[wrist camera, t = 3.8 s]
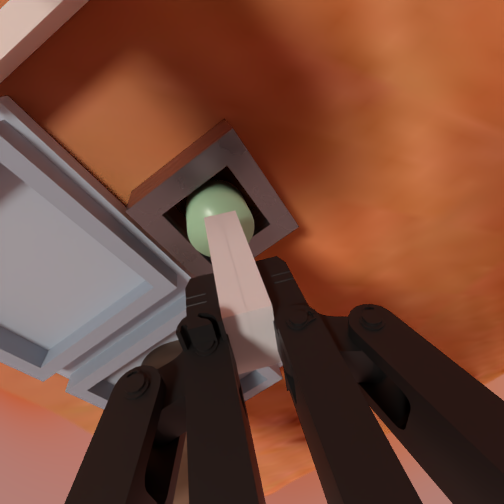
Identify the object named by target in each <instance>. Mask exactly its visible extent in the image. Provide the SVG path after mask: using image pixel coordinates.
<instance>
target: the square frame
mask: <svg viewBox="0 0 504 504" xmlns="http://www.w3.org/2000/svg"><path fill="white" fill-rule="evenodd" d="M88 1H89V0H9V1H8V2H7V3H6V4H5V5H4V6H3V7H2V8H1V9H0V83H1V82H2V81H3V80H4V79H5V78H6V77H8V76H9V75H10V74H11V73H12V72H13V71H14V70H15V69H16V68H17V67H18V66H19V65H20V64H21V63H23V62H24V61H25V60H26V59H27V58H28V57H29V56H30V55H31V54H32V53H33V52H34V51H35V50H36V49H38V48H39V47H40V46H41V45H42V44H43V43H44V42H45V41H46V40H47V39H48V38H49V37H50V36H51V35H53V34H54V33H55V32H56V31H57V30H58V29H59V28H60V27H61V26H62V25H63V24H64V23H65V22H67V21H68V20H69V19H70V18H71V17H72V16H73V15H74V14H75V13H76V12H77V11H78V10H79V9H80V8H82V7H83V6H84V5H85V4H86V3H87V2H88Z"/></svg>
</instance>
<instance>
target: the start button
mask: <svg viewBox="0 0 504 504" xmlns="http://www.w3.org/2000/svg"><path fill="white" fill-rule="evenodd" d="M231 211H236V214H237V216H238V219H239V221H240V224H241V226H242V229H243V232H244V234H245V237H246V239H247V242H248V243H249V242H250V240H251V238H252V236H253V233H254V220H253V216H252V214H251V212H250V210H249V208H248V206H247V204H246V202H245V200H244V198H243V196H242V194H241V192H240V191H239V190H238V189H237V188H236V187H235V186H234V185H232V184H231V183H229V182H226V181H223V180H209V181H206V182H205V183H203V184H202V185H201V186H199V187H198V188H197V189H195V190H194V191H193V192H191V193H190V194H189V196H188V198H187V201H186V221H187V233H188V238H189V240H190V242H191V244H192V246H193V247H194V248H195V249H196V250H197V251H199V252H200V253H202V254H204V255H206V256H209V257H211V255H210V250H209V244H208V239H207V233H206V227H205V222H204V218H205V217H209V216H213V215H218V214H222V213H226V212H231Z"/></svg>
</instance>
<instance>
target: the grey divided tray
mask: <svg viewBox="0 0 504 504" xmlns="http://www.w3.org/2000/svg"><path fill="white" fill-rule="evenodd" d="M125 211H126V207H125V206H124V205H123V204H122V203H121V202H120V201H119V200H118V199H117V198H116V197H115V196H114V195H112V194H111V193H110V192H109V191H108V190H107V189H106V188H105V187H104V186H103V185H102V184H101V183H100V182H99V181H98V180H97V179H96V178H94V177H93V176H92V175H91V174H90V173H89V172H88V171H87V170H86V169H85V168H84V167H83V166H82V165H81V164H80V163H79V162H78V161H76V160H75V159H74V158H73V157H72V156H71V155H70V154H69V153H68V152H67V151H66V150H65V149H64V148H63V147H62V146H61V145H59V144H58V143H57V142H56V141H55V140H54V139H53V138H52V137H51V136H50V135H49V134H48V133H47V132H46V131H45V130H44V129H43V128H41V127H40V126H39V125H38V124H37V123H36V122H35V121H34V120H33V119H32V118H31V117H30V116H29V115H28V114H27V113H26V112H25V111H23V110H22V109H21V108H20V107H19V106H18V105H17V104H16V103H15V102H14V101H13V100H12V99H11V98H10V97H9V96H3V97H0V362H1V363H4V364H6V365H8V366H10V367H12V368H14V369H17V370H19V371H21V372H23V373H25V374H28V375H30V376H32V377H34V378H36V379H38V380H41V381H43V382H44V381H45V380H46V379H48V378H49V377H51V376H52V375H54V374H55V373H58V374H60V375H62V376H64V377H66V378H68V379H69V382H68V385H67V388H66V391H65V392H67V393H69V394H71V395H73V396H76V397H78V398H80V399H82V400H84V401H87V402H89V403H91V404H93V405H95V406H97V407H100V408H102V409H105V407H106V404H107V402H108V400H109V397H110V395H111V392H112V390H113V388H114V386H115V385H116V383H117V381H118V380H119V379H120V378H121V377H122V376H123V375H124V374H125V373H126V372H128V371H129V370H131V369H133V368H135V367H138V366H141V363H142V362H143V360H144V358H145V357H146V356H147V355H148V354H149V353H150V352H151V351H153V350H154V349H155V348H157V347H159V346H161V345H163V344H166V343H169V342H172V341H176V340H178V338H177V335H176V329H177V326H178V324H179V323H180V322H181V320H182V319H183V318H185V317H186V294H185V288H186V286H187V284H188V282H189V280H190V278H194V277H195V276H194V275H193V274H191V273H190V272H189V271H188V270H187V269H186V268H185V267H184V266H183V265H182V264H181V263H180V262H179V261H178V260H176V259H175V258H174V257H173V256H172V255H171V254H170V253H169V252H168V251H167V250H166V249H165V248H164V247H162V246H161V245H160V244H159V243H158V242H157V241H156V240H155V239H154V238H153V237H152V236H151V235H150V234H149V233H147V232H146V231H145V230H144V229H143V228H142V227H141V226H140V225H139V224H138V223H137V222H136V221H135V220H133V219H132V218H131V217H130V216H129V215H128V214H127V213H126V212H125ZM280 360H281V359H280ZM281 366H283V364H282V362H281V363H278V364H274V365H271V366H267V367H264V368H260V369H257V370H253V371H250V372H246V373H242V374H239V380H240V384H241V387H242V391H243V395H244V400H245V401H247V400H248V399H250V398H251V397H253V396H255V395H256V394H258V393H260V392H261V391H263V390H265V389H266V388H268V387H270V386H271V385H273V384H275V383H276V382H278V381H280V380H281V379H283V378H282V375H281V372H280V369H279V368H280V367H281Z"/></svg>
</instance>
